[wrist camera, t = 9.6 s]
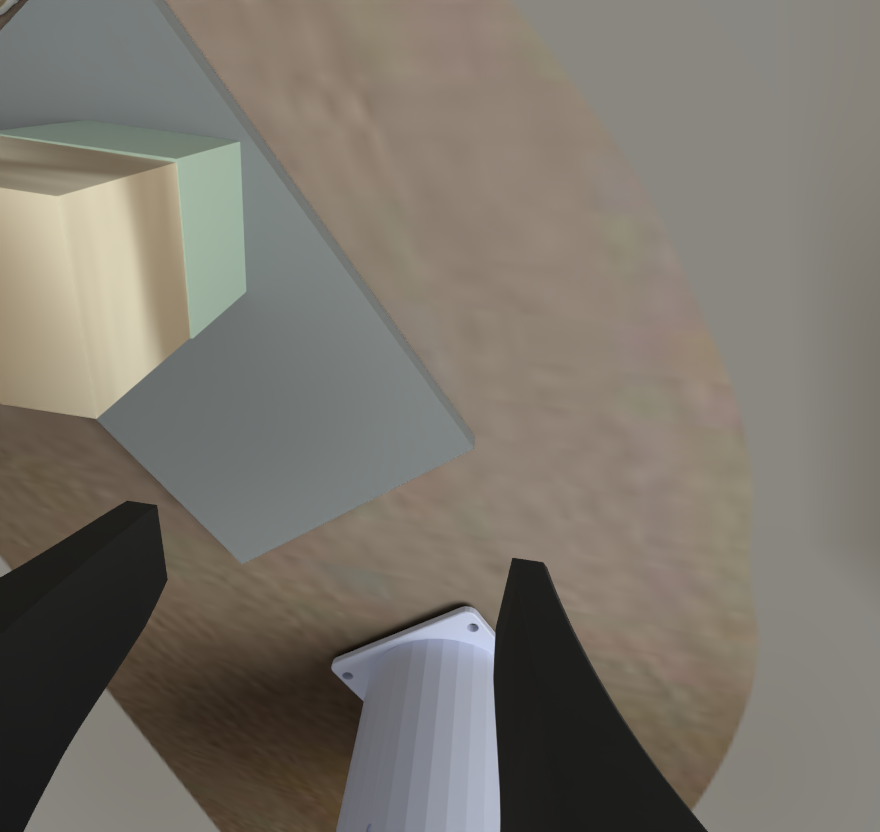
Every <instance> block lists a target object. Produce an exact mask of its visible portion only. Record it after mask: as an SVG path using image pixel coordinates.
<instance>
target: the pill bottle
mask: <svg viewBox="0 0 880 832" xmlns="http://www.w3.org/2000/svg"><path fill="white" fill-rule="evenodd" d="M18 1H19V0H0V15H2V14H4V13H5V12H6V11H8V10H9V9H10V8H11V7H12V6H13V5H14V4H16V3H17V2H18Z"/></svg>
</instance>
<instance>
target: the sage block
mask: <svg viewBox="0 0 880 832" xmlns="http://www.w3.org/2000/svg"><path fill="white" fill-rule="evenodd" d="M0 136H5V137H12V138H18V139H25V140H32V141H38V142H45V143H51V144H58V145H64V146H71V147H78V148H84V149H91V150H97V151H104V152H111V153H117V154H124V155H130V156H137V157H143V158H150V159H157V160H163V161H170V162H176V166H177V178H178V191H179V203H180V216H181V228H182V240H183V253H184V265H185V278H186V290H187V303H188V315H189V328H190V338H192V339H193V338H194V337H195V336H196V335H198V334H199V333H200V332H201V331H202V330H203V329H204V328H206V327H207V326H208V325H209V324H210V323H211V322H212V321H213V320H215V319H216V318H217V317H218V316H219V315H220V314H221V313H223V312H224V311H225V310H226V309H227V308H228V307H229V306H231V305H232V304H233V303H234V302H235V301H236V300H237V299H239V298H240V297H241V296H242V295H243V294H244V293H245V292H246V272H245V248H244V223H243V199H242V175H241V150H240V141H233V140H226V139H219V138H212V137H205V136H198V135H190V134H183V133H176V132H169V131H162V130H154V129H147V128H140V127H133V126H126V125H119V124H111V123H104V122H97V121H90V120H83V121H74V122H66V123H58V124H49V125H41V126H33V127H25V128H16V129H8V130H0Z"/></svg>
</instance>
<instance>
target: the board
mask: <svg viewBox="0 0 880 832" xmlns="http://www.w3.org/2000/svg"><path fill="white" fill-rule="evenodd" d="M83 120H90V121H97V122H104V123H111V124H119V125H126V126H133V127H140V128H147V129H154V130H162V131H169V132H176V133H183V134H190V135H198V136H205V137H212V138H219V139H226V140H233V141H240V150H241V175H242V199H243V223H244V248H245V272H246V292H245V293H244V294H243V295H242V296H241V297H240V298H239V299H237V300H236V301H235V302H234V303H233V304H232V305H231V306H229V307H228V308H227V309H226V310H225V311H224V312H223V313H221V314H220V315H219V316H218V317H217V318H216V319H215V320H213V321H212V322H211V323H210V324H209V325H208V326H207V327H206V328H204V329H203V330H202V331H201V332H200V333H199V334H198V335H196V336H195V337H194V338H193V339H192V338H189V339H188V340H187V341H186V342H185V343H183V344H182V345H181V346H180V347H179V348H178V349H177V350H175V351H174V352H173V353H172V354H171V355H170V356H168V357H167V358H166V359H165V360H164V361H163V362H162V363H160V364H159V365H158V366H157V367H156V368H155V369H153V370H152V371H151V372H150V373H149V374H148V375H147V376H145V377H144V378H143V379H142V380H141V381H140V382H138V383H137V384H136V385H135V386H134V387H133V388H132V389H130V390H129V391H128V392H127V393H126V394H125V395H123V396H122V397H121V398H120V399H119V400H118V401H117V402H115V403H114V404H113V405H112V406H111V407H110V408H108V409H107V410H106V411H105V412H104V413H103V414H102V415H100V416H99V417H98V418H97V419H96V420H97V421H98V422H99V423H100V424H101V425H102V426H103V427H104V428H105V429H106V430H107V431H108V432H109V433H110V434H111V435H112V436H113V437H114V438H115V439H116V440H117V441H118V442H119V443H120V444H121V445H122V446H123V447H124V448H125V449H126V450H127V451H128V452H129V453H130V454H131V455H132V456H133V457H134V458H135V459H136V460H137V461H138V462H139V463H140V464H142V465H143V466H144V467H145V468H146V469H147V470H148V471H149V472H150V473H151V474H152V475H153V476H154V477H155V478H156V479H157V480H158V481H159V482H160V483H161V484H162V485H163V486H164V487H165V488H166V489H167V490H168V491H169V492H170V493H171V494H172V495H173V496H174V497H175V498H176V499H177V500H178V501H179V502H180V503H181V504H182V505H183V506H184V507H185V508H186V509H187V510H188V511H189V512H190V513H191V514H192V515H193V516H194V517H195V518H196V519H197V520H198V521H199V522H200V523H201V524H202V525H203V526H204V527H205V528H206V529H207V530H208V531H209V532H210V533H211V534H212V535H213V536H214V537H215V538H216V539H217V540H218V541H219V542H220V543H221V544H222V545H223V546H224V547H225V548H226V549H227V550H228V551H229V552H230V553H231V554H232V555H233V556H234V557H235V558H236V559H237V560H238V561H239V562H240V563H241V564H244V563H246V562H248V561H250V560H252V559H254V558H256V557H258V556H260V555H262V554H264V553H266V552H268V551H270V550H272V549H274V548H276V547H278V546H280V545H282V544H284V543H286V542H288V541H290V540H292V539H294V538H296V537H298V536H300V535H302V534H304V533H306V532H308V531H310V530H312V529H314V528H316V527H318V526H320V525H322V524H324V523H326V522H328V521H330V520H332V519H334V518H336V517H338V516H340V515H342V514H344V513H346V512H348V511H350V510H352V509H354V508H356V507H358V506H360V505H362V504H364V503H366V502H368V501H370V500H372V499H374V498H376V497H378V496H380V495H382V494H384V493H386V492H388V491H390V490H392V489H394V488H396V487H398V486H400V485H402V484H404V483H406V482H408V481H410V480H412V479H414V478H416V477H418V476H420V475H422V474H424V473H426V472H428V471H430V470H432V469H434V468H436V467H438V466H440V465H442V464H444V463H446V462H448V461H450V460H452V459H454V458H456V457H458V456H460V455H462V454H464V453H466V452H468V451H470V450H472V449H474V441H475V437H474V435H473V434H472V432H471V431H470V430H469V428H468V427H467V425H466V424H465V423H464V421H463V420H462V418H461V417H460V416H459V414H458V413H457V411H456V410H455V408H454V407H453V406H452V404H451V403H450V401H449V400H448V399H447V397H446V396H445V394H444V393H443V392H442V390H441V389H440V387H439V386H438V385H437V383H436V382H435V380H434V379H433V378H432V376H431V375H430V373H429V372H428V371H427V369H426V368H425V366H424V365H423V363H422V362H421V361H420V359H419V358H418V356H417V355H416V354H415V352H414V351H413V349H412V348H411V347H410V345H409V344H408V342H407V341H406V340H405V338H404V337H403V335H402V334H401V333H400V331H399V330H398V328H397V327H396V325H395V324H394V323H393V321H392V320H391V318H390V317H389V316H388V314H387V313H386V311H385V310H384V309H383V307H382V306H381V304H380V303H379V302H378V300H377V299H376V297H375V296H374V295H373V293H372V292H371V290H370V289H369V288H368V286H367V285H366V283H365V282H364V280H363V279H362V278H361V276H360V275H359V273H358V272H357V271H356V269H355V268H354V266H353V265H352V264H351V262H350V261H349V259H348V258H347V257H346V255H345V254H344V252H343V251H342V250H341V248H340V247H339V245H338V244H337V243H336V241H335V240H334V238H333V237H332V235H331V234H330V233H329V231H328V230H327V228H326V227H325V226H324V224H323V223H322V221H321V220H320V219H319V217H318V216H317V214H316V213H315V212H314V210H313V209H312V207H311V206H310V205H309V203H308V202H307V200H306V199H305V197H304V196H303V195H302V193H301V192H300V190H299V189H298V188H297V186H296V185H295V183H294V182H293V181H292V179H291V178H290V176H289V175H288V174H287V172H286V171H285V169H284V168H283V167H282V165H281V164H280V162H279V161H278V160H277V158H276V157H275V155H274V154H273V152H272V151H271V150H270V148H269V147H268V145H267V144H266V143H265V141H264V140H263V138H262V137H261V136H260V134H259V133H258V131H257V130H256V129H255V127H254V126H253V124H252V123H251V122H250V120H249V119H248V117H247V116H246V115H245V113H244V112H243V110H242V109H241V107H240V106H239V105H238V103H237V102H236V100H235V99H234V98H233V96H232V95H231V93H230V92H229V91H228V89H227V88H226V86H225V85H224V84H223V82H222V81H221V79H220V78H219V77H218V75H217V74H216V72H215V71H214V69H213V68H212V67H211V65H210V64H209V62H208V61H207V60H206V58H205V57H204V55H203V54H202V53H201V51H200V50H199V48H198V47H197V46H196V44H195V43H194V41H193V40H192V39H191V37H190V36H189V34H188V33H187V32H186V30H185V29H184V27H183V26H182V24H181V23H180V22H179V20H178V19H177V17H176V16H175V15H174V13H173V12H172V10H171V9H170V8H169V6H168V5H167V3H166V2H165V1H164V0H28V1H27V2H26V3H25V4H24V5H23V6H22V8H21V9H20V10H19V11H18V12H17V13H16V14H15V15H14V16H13V17H12V18H11V20H10V21H9V22H8V23H7V24H6V25H5V26H4V27H3V28H2V29H1V30H0V130H8V129H16V128H25V127H33V126H41V125H49V124H58V123H66V122H74V121H83Z"/></svg>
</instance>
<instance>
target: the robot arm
mask: <svg viewBox="0 0 880 832" xmlns="http://www.w3.org/2000/svg"><path fill="white" fill-rule="evenodd" d="M167 580H168V579H167V572H166V565H165V558H164V551H163V544H162V537H161V530H160V523H159V516H158V509H157V505H152V504H145V503H139V502H132V501H126V502H124V503H123V504H121V505H119V506H117V507H116V508H114V509H112V510H111V511H109V512H108V513H106V514H104V515H103V516H101V517H99V518H98V519H96V520H95V521H93V522H91V523H90V524H88V525H87V526H85V527H83V528H82V529H80V530H79V531H77V532H76V533H74V534H72V535H71V536H69V537H68V538H66V539H64V540H63V541H61V542H59V543H58V544H56V545H54V546H53V547H51V548H50V549H48V550H46V551H45V552H43V553H41V554H40V555H38V556H36V557H35V558H33V559H32V560H30V561H28V562H27V563H25V564H23V565H22V566H20V567H18V568H16V569H14V570H13V571H11V572H9V573H7V574H6V575H4V576H2V577H0V832H23V831H24V829H25V827H26V825H27V823H28V821H29V819H30V817H31V815H32V813H33V811H34V809H35V807H36V805H37V804H38V801H39V800H40V798H41V796H42V794H43V792H44V790H45V788H46V787H47V785H48V783H49V781H50V779H51V777H52V775H53V773H54V771H55V769H56V767H57V766H58V764H59V762H60V759H61V758H62V756H63V754H64V753H65V751H66V749H67V747H68V746H69V744H70V742H71V741H72V739H73V738H74V736H75V734H76V733H77V731H78V729H79V728H80V726H81V725H82V723H83V721H84V720H85V718H86V717H87V715H88V714H89V712H90V711H91V709H92V708H93V706H94V705H95V703H96V702H97V700H98V698H99V697H100V696H101V694H102V692H103V691H104V689H105V688H106V686H107V685H108V683H109V682H110V680H111V679H112V677H113V676H114V674H115V673H116V671H117V669H118V668H119V666H120V665H121V663H122V662H123V660H124V659H125V657H126V656H127V654H128V652H129V651H130V649H131V648H132V646H133V645H134V643H135V642H136V640H137V638H138V637H139V635H140V634H141V632H142V630H143V629H144V627H145V626H146V624H147V622H148V620H149V618H150V616H151V614H152V612H153V610H154V608H155V606H156V604H157V601H158V599H159V597H160V595H161V593H162V591H163V588H164V586H165V584H166V582H167ZM472 623H473V624H476V625H471V624H472ZM331 668H332V671H333V672H334V673H335V674H336V675H337V676H338V677H339V678H340V679H341V680H342V681H343V682H344V683H345V684H346V685H347V686H348V687H349V688H350V689H351V690H352V691H353V692H354V693H355V694H356V695H357V696H358V697H360V698H361V699H362V700H363V701H364V703H363V708H362V712H361V717H360V722H359V727H358V731H357V736H356V741H355V745H354V750H353V755H352V759H351V764H350V769H349V773H348V778H347V783H346V787H345V792H344V797H343V802H342V806H341V811H340V816H339V820H338V825H337V830H336V832H708V831H707V830H706V829H705V828H704V827H703V825H702V824H701V823H700V821H699V820H698V819H697V818H696V816H695V815H694V814H693V813H692V812H691V810H690V809H689V808H688V807H687V805H686V804H685V803H684V802H683V800H682V799H681V798H680V797H679V795H678V794H677V793H676V792H675V790H674V789H673V788H672V787H671V785H670V784H669V783H668V782H667V780H666V779H665V778H664V776H663V775H662V774H661V772H660V771H659V769H658V768H657V767H656V765H655V764H654V763H653V761H652V760H651V758H650V757H649V756H648V754H647V753H646V752H645V750H644V749H643V747H642V746H641V744H640V743H639V741H638V740H637V738H636V737H635V735H634V734H633V733H632V731H631V730H630V728H629V727H628V725H627V724H626V722H625V720H624V719H623V717H622V716H621V714H620V713H619V711H618V709H617V708H616V706H615V705H614V703H613V701H612V700H611V698H610V696H609V695H608V693H607V691H606V689H605V688H604V686H603V684H602V683H601V681H600V679H599V677H598V676H597V674H596V672H595V670H594V668H593V667H592V665H591V663H590V661H589V659H588V657H587V655H586V653H585V651H584V649H583V648H582V646H581V644H580V642H579V640H578V638H577V636H576V634H575V632H574V630H573V628H572V626H571V624H570V621H569V619H568V617H567V615H566V613H565V610H564V608H563V606H562V604H561V602H560V599H559V597H558V595H557V592H556V590H555V587H554V585H553V582H552V580H551V577H550V574H549V572H548V569H547V567H546V566H545V564H544V563H543V562H537V561H531V560H524V559H517V558H512V562H511V566H510V570H509V575H508V579H507V583H506V587H505V591H504V596H503V600H502V604H501V608H500V612H499V617H498V621H497V625H496V631H495V632H494V631H493V630H492V628H491V627H490V626H489V625H488V623H487V622H486V621H485V620H484V619H483V617H482V616H481V615H480V614H479V613H478V611H477V610H475V609H474V608H472V607H469V606H464V607H461V608H458V609H456V610H453V611H451V612H448V613H446V614H443V615H441V616H438V617H436V618H433V619H431V620H428V621H426V622H423V623H421V624H418V625H416V626H413V627H411V628H408V629H406V630H403V631H401V632H398V633H396V634H393V635H391V636H388V637H386V638H383V639H381V640H378V641H376V642H373V643H371V644H368V645H366V646H363V647H361V648H359V649H356V650H354V651H351V652H349V653H346V654H344V655H341V656H339V657H336V658H335V659H334V660H333V663H332V666H331Z"/></svg>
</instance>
